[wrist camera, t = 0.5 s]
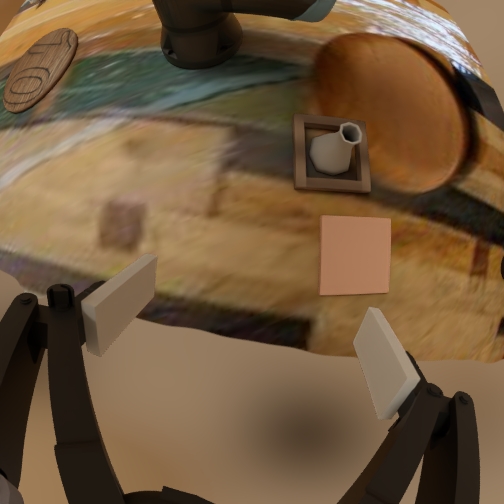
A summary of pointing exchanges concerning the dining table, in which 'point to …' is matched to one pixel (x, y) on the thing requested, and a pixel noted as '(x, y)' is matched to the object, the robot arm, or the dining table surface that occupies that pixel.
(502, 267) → the coffee mug
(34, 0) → the chubby cartoon animal
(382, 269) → the terracotta coaster
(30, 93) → the trivet
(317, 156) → the flask
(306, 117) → the walnut holder
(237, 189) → the dining table surface
